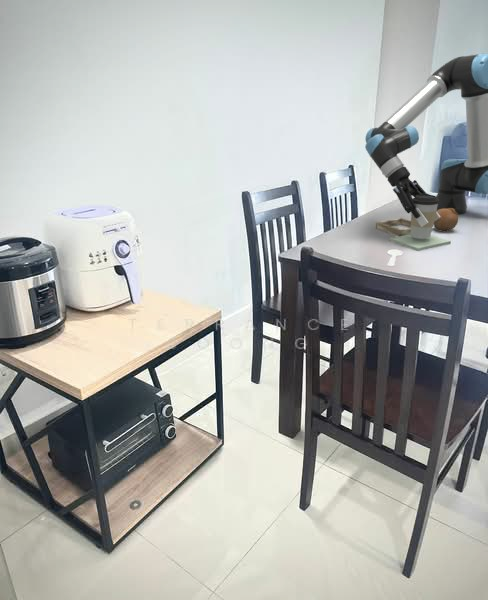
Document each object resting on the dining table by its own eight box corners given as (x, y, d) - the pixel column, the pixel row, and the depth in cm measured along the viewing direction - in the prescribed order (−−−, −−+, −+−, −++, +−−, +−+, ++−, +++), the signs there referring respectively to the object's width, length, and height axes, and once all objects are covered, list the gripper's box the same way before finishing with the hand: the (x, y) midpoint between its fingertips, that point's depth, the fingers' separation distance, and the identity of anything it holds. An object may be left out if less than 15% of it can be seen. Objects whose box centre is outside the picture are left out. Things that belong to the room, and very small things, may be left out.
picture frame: (401, 223, 187) (401, 218, 186) (426, 231, 175) (427, 225, 174) (375, 228, 182) (375, 222, 180) (399, 236, 170) (400, 230, 169)
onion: (451, 237, 178) (466, 215, 173) (443, 235, 171) (459, 213, 166) (431, 224, 183) (446, 203, 178) (423, 223, 176) (438, 201, 171)
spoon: (381, 266, 142) (382, 264, 142) (388, 249, 157) (388, 248, 157) (399, 268, 140) (399, 266, 140) (404, 251, 155) (404, 249, 155)
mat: (421, 234, 172) (421, 232, 171) (450, 243, 160) (450, 241, 160) (389, 240, 166) (389, 238, 165) (417, 250, 154) (418, 248, 154)
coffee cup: (435, 239, 157) (442, 198, 151) (409, 239, 159) (414, 197, 153) (431, 232, 165) (437, 192, 159) (405, 232, 167) (410, 192, 161)
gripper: (402, 175, 171) (436, 222, 167) (372, 183, 158) (408, 234, 154) (417, 162, 165) (452, 210, 161) (387, 169, 152) (425, 221, 148)
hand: (431, 221), depth 157 cm, fingers closed on coffee cup, 9 cm apart
